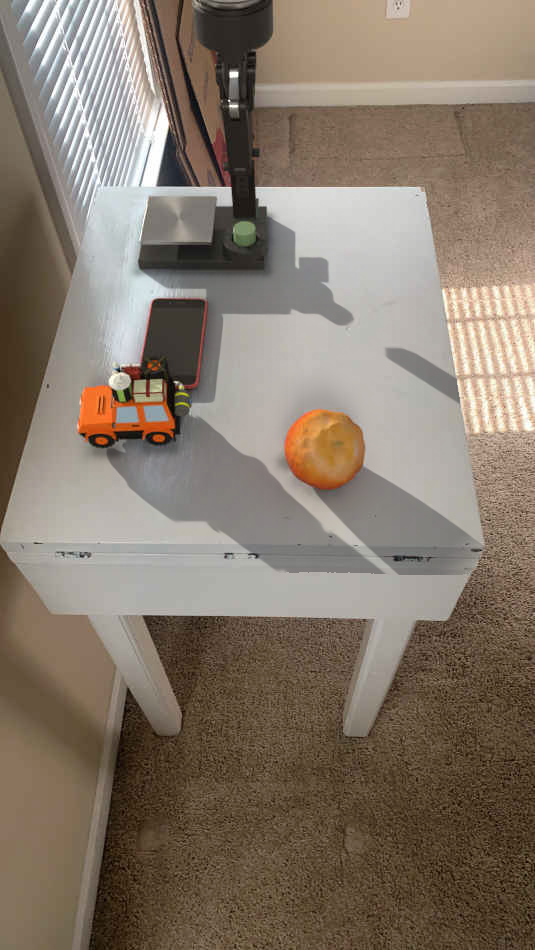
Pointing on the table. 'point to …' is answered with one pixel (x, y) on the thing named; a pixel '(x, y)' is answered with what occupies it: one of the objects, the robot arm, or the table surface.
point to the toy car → (134, 405)
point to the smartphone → (177, 336)
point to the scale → (212, 248)
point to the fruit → (324, 449)
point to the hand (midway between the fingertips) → (244, 213)
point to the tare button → (244, 233)
